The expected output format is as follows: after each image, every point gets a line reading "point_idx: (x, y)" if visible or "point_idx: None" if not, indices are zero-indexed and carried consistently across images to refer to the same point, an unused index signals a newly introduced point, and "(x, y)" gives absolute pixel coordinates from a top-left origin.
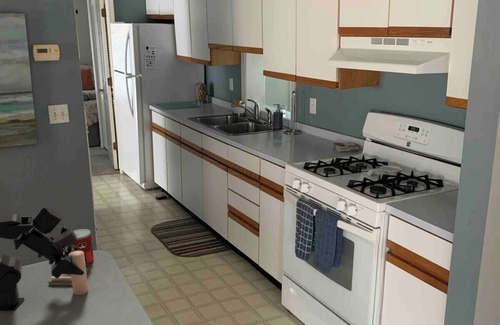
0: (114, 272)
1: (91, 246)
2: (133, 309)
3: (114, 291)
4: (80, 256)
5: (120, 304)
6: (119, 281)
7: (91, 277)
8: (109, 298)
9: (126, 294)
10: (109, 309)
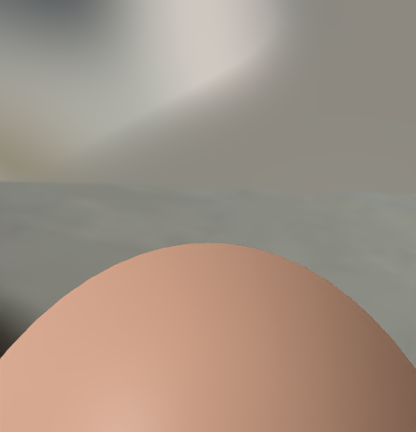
0: (73, 193)
1: None
2: (405, 209)
3: (254, 233)
4: (392, 359)
5: (365, 237)
6: (175, 197)
7: (36, 304)
8: (308, 264)
9: (295, 202)
10: (399, 284)
